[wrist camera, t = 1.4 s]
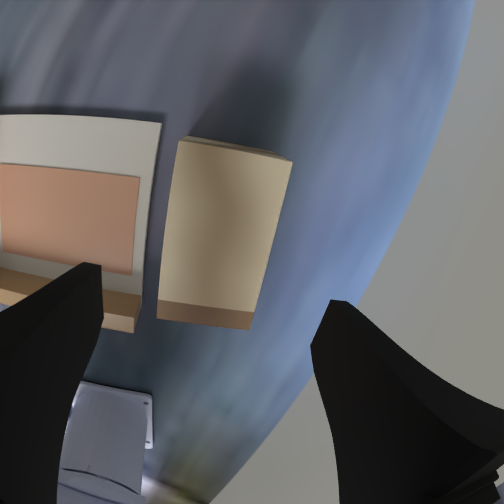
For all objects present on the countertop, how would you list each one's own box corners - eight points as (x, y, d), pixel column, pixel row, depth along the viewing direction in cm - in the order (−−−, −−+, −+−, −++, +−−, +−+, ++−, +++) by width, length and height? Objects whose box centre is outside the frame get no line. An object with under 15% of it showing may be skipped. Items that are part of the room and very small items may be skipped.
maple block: (273, 151, 17) (292, 162, 13) (241, 288, 21) (249, 330, 17) (187, 135, 16) (178, 140, 12) (166, 277, 20) (156, 318, 16)
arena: (141, 306, 20) (133, 333, 18) (-8, 274, 18) (-28, 294, 15) (162, 123, 16) (152, 124, 13) (-13, 115, 13) (-40, 119, 11)
